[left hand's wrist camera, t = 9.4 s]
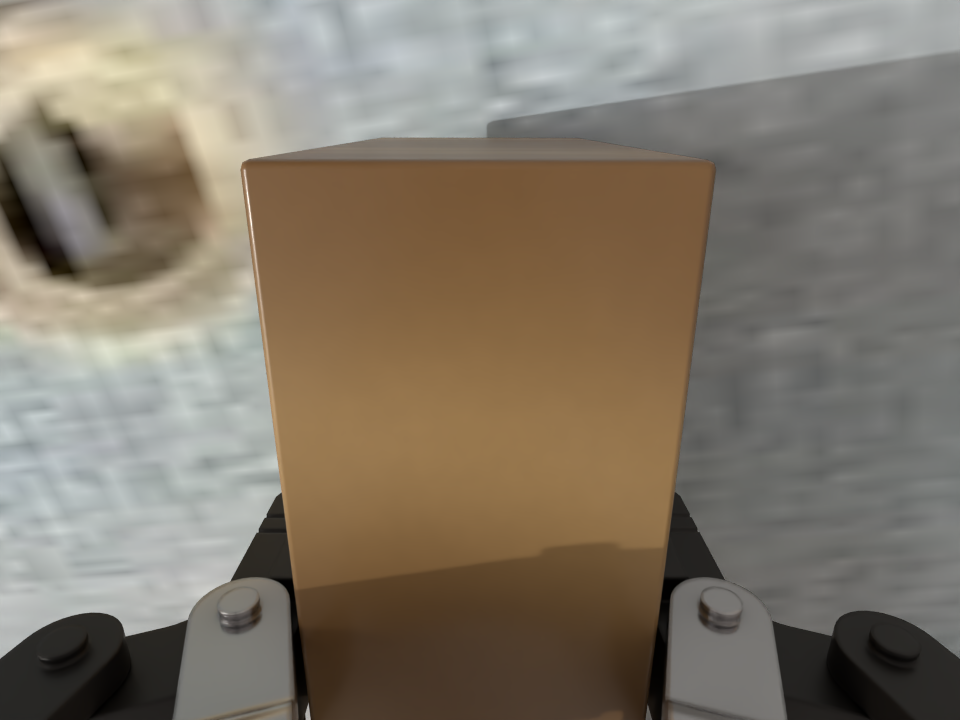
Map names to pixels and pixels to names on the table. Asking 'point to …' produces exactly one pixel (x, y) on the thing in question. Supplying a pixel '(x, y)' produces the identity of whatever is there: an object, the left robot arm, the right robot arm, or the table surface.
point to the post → (478, 415)
